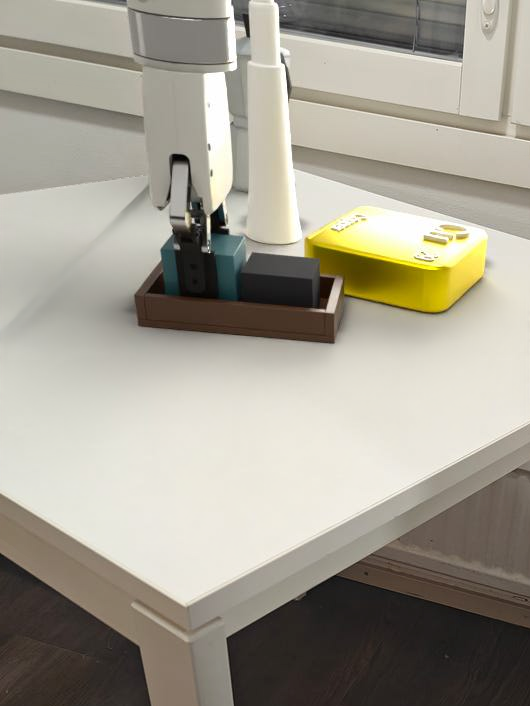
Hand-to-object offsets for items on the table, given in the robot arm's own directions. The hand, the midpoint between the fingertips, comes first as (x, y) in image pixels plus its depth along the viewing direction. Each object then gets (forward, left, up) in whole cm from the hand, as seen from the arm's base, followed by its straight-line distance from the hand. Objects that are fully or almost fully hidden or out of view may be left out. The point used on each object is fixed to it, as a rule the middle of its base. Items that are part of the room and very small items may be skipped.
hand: (207, 283), depth 78 cm
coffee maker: (-2, +42, -3) cm, 42 cm away
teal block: (0, 0, 0) cm, 0 cm away
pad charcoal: (+7, 0, -2) cm, 7 cm away
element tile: (+16, +13, -3) cm, 21 cm away
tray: (+3, 0, -2) cm, 4 cm away
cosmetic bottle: (+2, +23, -3) cm, 23 cm away
